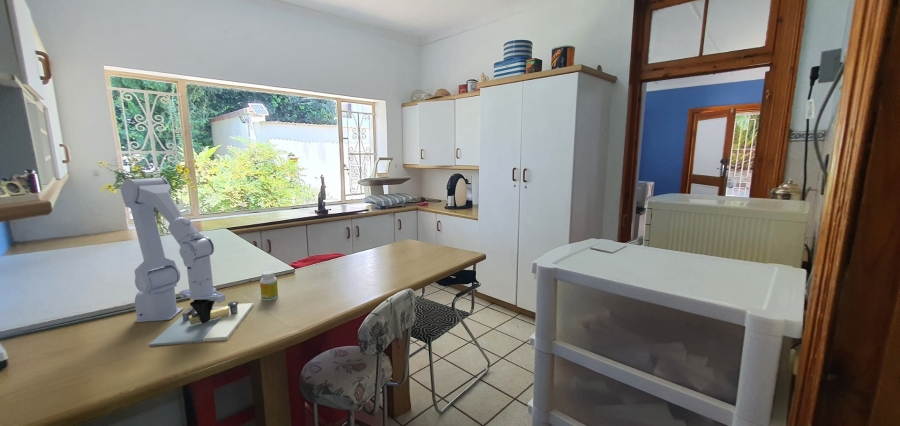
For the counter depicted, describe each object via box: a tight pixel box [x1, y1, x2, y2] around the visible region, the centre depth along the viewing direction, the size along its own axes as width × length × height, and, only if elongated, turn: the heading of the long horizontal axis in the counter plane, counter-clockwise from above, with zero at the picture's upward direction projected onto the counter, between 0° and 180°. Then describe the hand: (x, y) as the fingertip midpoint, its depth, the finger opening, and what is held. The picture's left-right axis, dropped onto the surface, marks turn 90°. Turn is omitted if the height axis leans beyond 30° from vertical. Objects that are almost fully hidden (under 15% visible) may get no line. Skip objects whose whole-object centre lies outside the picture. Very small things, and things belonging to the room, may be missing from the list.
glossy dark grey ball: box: [227, 300, 239, 315], centre depth 111 cm, size 3×3×4 cm
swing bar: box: [189, 305, 230, 325], centre depth 106 cm, size 10×2×3 cm, turn 135°
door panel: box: [149, 302, 255, 347], centre depth 106 cm, size 19×22×1 cm
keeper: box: [181, 305, 214, 321], centre depth 109 cm, size 6×6×2 cm
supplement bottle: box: [259, 270, 279, 302], centre depth 124 cm, size 5×5×10 cm
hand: (205, 321), depth 103 cm, fingers closed
